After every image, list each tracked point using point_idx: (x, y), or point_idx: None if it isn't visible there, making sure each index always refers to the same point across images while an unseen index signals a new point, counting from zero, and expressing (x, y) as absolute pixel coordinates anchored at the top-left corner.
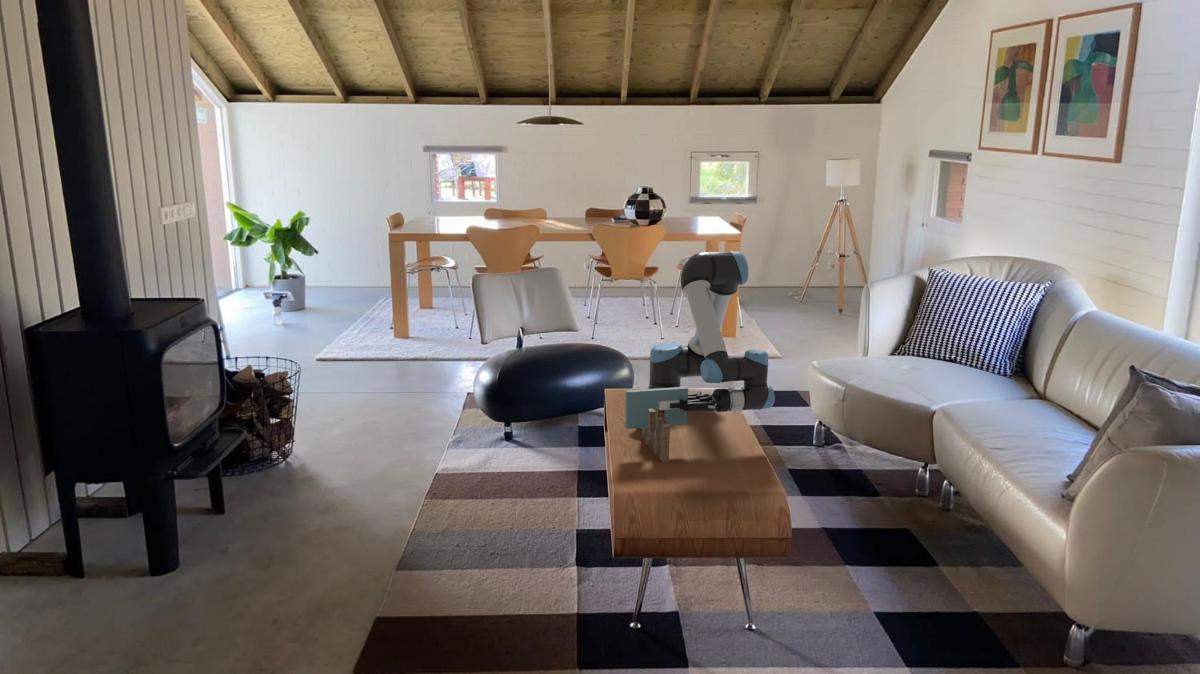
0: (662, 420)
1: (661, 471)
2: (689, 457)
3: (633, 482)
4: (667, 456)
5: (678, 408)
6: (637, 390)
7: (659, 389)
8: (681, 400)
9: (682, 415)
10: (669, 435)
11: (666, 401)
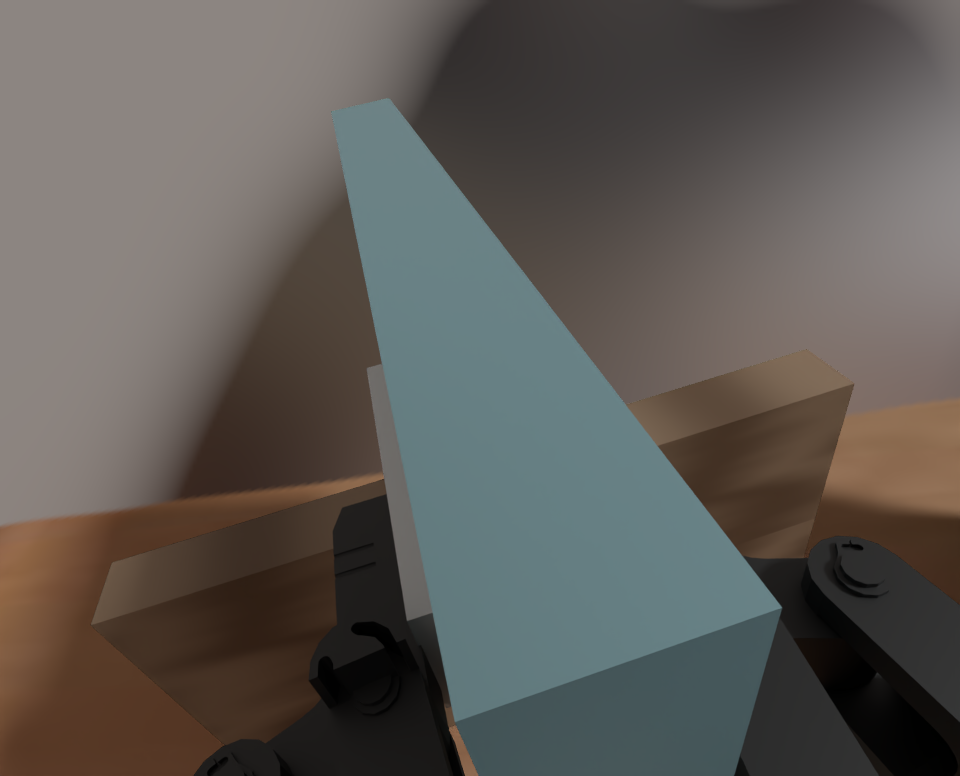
0: (280, 542)
1: (130, 726)
2: None
3: (65, 573)
4: None
5: (443, 692)
6: (378, 123)
7: (389, 198)
8: (324, 656)
9: None
10: (158, 683)
11: (378, 427)
